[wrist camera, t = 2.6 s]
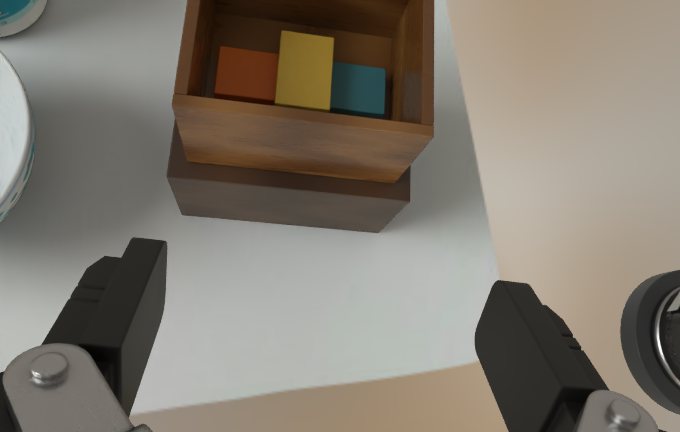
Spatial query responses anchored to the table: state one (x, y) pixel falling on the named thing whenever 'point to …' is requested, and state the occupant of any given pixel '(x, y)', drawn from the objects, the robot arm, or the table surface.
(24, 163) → the chinaware
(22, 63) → the table surface
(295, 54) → the yellow rectangular block
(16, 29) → the pill bottle
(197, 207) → the stand
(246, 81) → the orange packet
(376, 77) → the teal packet
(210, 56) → the wooden box
